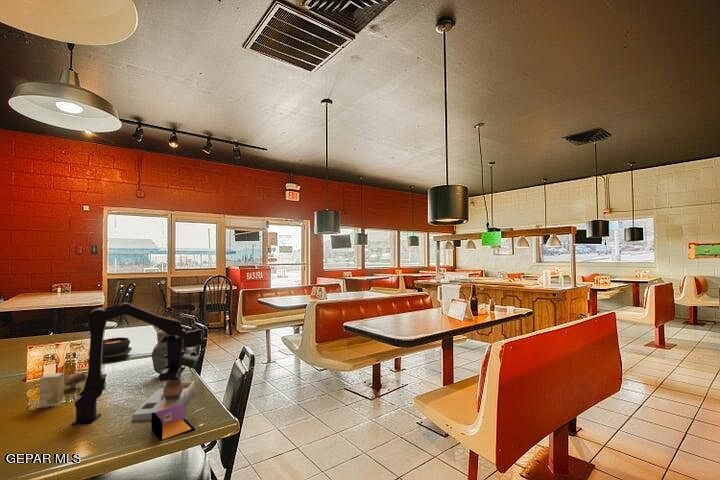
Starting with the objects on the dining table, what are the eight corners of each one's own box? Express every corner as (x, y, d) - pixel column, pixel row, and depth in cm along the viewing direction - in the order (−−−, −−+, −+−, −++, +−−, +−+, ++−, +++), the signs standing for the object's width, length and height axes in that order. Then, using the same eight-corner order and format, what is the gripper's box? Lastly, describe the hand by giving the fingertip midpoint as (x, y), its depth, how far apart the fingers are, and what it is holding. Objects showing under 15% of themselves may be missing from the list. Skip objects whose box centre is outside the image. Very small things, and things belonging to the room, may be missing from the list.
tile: (170, 416, 128) (170, 409, 128) (155, 417, 127) (155, 410, 127) (175, 409, 133) (175, 403, 133) (161, 410, 132) (161, 404, 132)
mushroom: (60, 389, 153) (60, 375, 153) (81, 383, 160) (81, 369, 160) (68, 393, 149) (68, 378, 149) (90, 386, 156) (90, 372, 157)
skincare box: (38, 409, 134) (38, 377, 135) (45, 404, 139) (45, 373, 139) (58, 407, 136) (58, 375, 136) (64, 402, 140) (64, 372, 141)
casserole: (89, 354, 205) (89, 339, 206) (126, 347, 219) (126, 334, 219) (98, 363, 188) (98, 348, 188) (137, 355, 202) (137, 341, 202)
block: (179, 398, 137) (176, 390, 134) (165, 399, 136) (163, 391, 134) (183, 388, 141) (180, 379, 139) (170, 389, 140) (167, 380, 138)
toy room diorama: (146, 432, 117) (146, 412, 117) (184, 419, 125) (184, 400, 126) (157, 446, 108) (157, 424, 109) (196, 431, 117) (196, 411, 117)
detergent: (180, 368, 178) (180, 320, 179) (182, 372, 172) (182, 322, 173) (151, 374, 171) (151, 323, 171) (151, 378, 165) (152, 326, 166)
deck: (173, 418, 126) (173, 406, 126) (132, 421, 124) (132, 409, 124) (194, 391, 150) (194, 381, 150) (159, 393, 148) (159, 383, 148)
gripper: (188, 357, 132) (190, 396, 133) (201, 341, 150) (203, 376, 151) (156, 359, 130) (159, 400, 131) (174, 343, 148) (176, 378, 149)
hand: (176, 387), depth 140 cm, fingers closed, pressing on block
